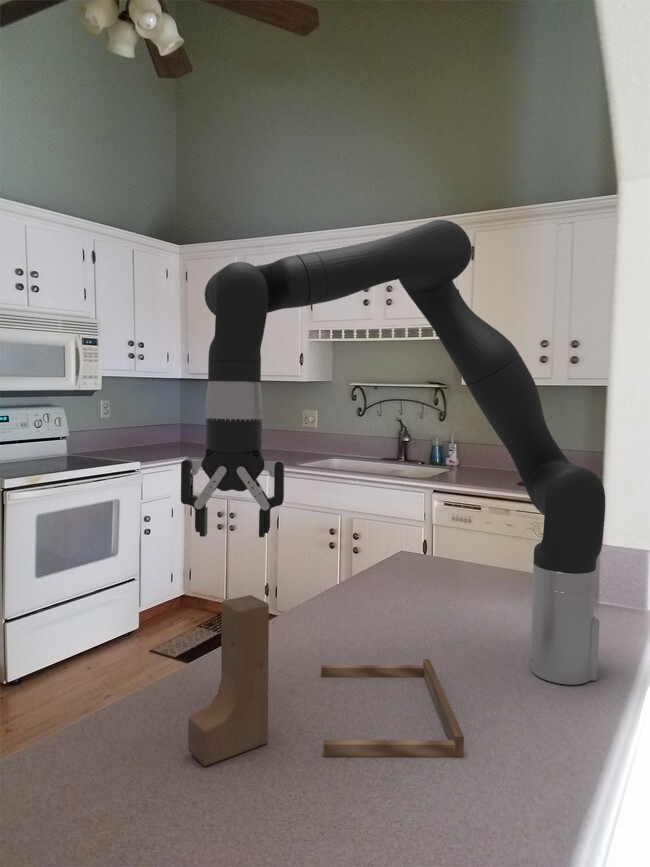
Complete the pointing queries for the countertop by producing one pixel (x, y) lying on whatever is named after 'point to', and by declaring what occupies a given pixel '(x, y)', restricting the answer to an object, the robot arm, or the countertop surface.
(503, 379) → the robot arm
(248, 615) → the wooden block
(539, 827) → the countertop surface
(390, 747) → the frame
